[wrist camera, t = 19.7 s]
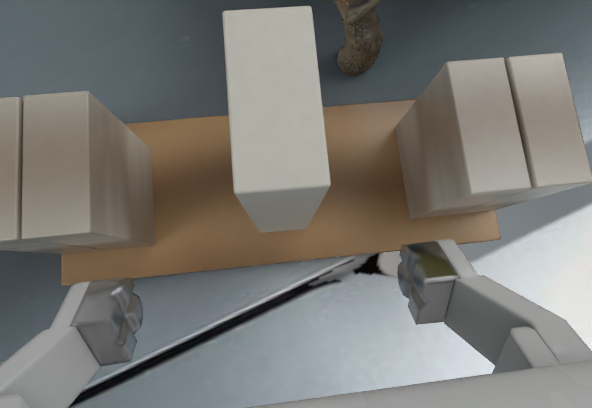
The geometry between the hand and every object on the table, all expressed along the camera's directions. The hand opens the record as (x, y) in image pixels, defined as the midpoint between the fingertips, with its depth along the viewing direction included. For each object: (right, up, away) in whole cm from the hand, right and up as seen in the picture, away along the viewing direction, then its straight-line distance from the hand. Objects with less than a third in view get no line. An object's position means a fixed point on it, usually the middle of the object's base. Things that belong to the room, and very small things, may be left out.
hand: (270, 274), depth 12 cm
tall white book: (0, +3, +8) cm, 9 cm away
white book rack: (0, +3, +9) cm, 9 cm away
